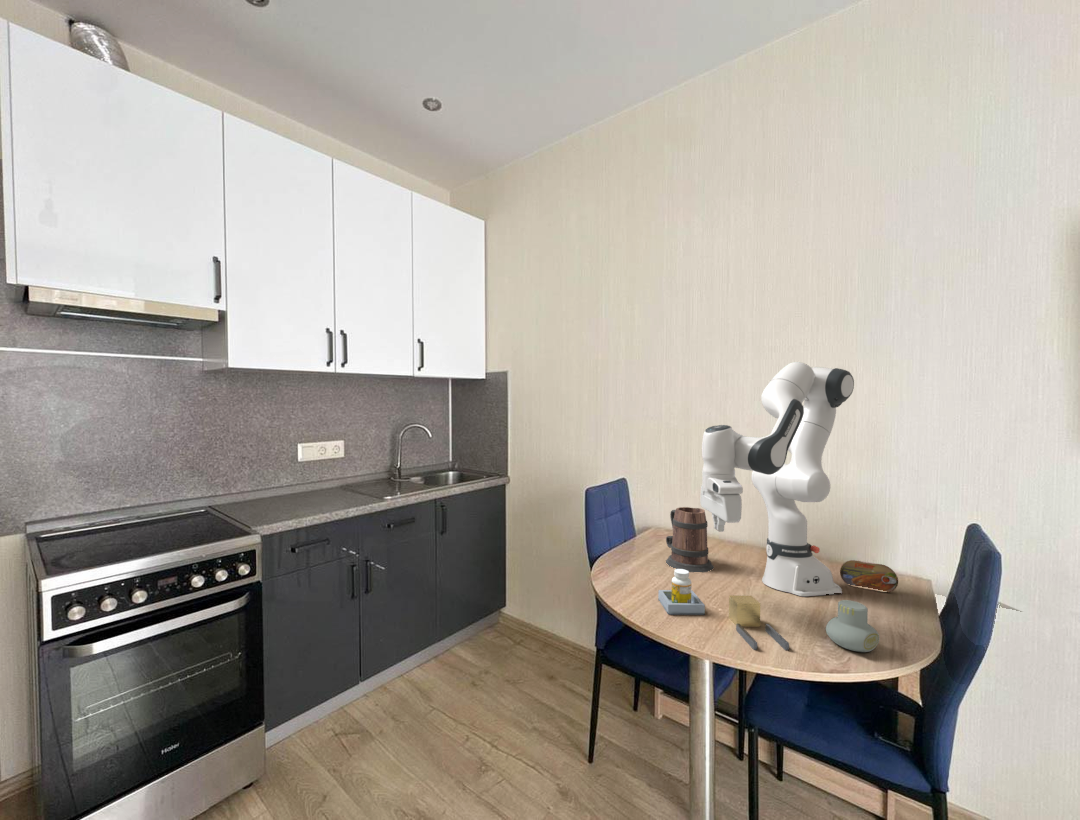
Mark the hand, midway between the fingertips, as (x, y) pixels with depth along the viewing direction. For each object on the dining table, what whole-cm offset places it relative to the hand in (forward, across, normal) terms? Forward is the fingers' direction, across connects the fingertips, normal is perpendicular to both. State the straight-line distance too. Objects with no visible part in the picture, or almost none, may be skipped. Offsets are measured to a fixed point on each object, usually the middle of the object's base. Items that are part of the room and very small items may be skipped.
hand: (719, 530), depth 132 cm
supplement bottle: (+21, +2, -12) cm, 24 cm away
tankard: (+22, -38, +3) cm, 44 cm away
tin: (+24, -13, +53) cm, 60 cm away
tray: (+21, +2, -12) cm, 24 cm away
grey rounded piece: (+22, +22, +23) cm, 39 cm away
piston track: (+22, +16, +2) cm, 27 cm away
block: (+21, +11, +2) cm, 24 cm away
